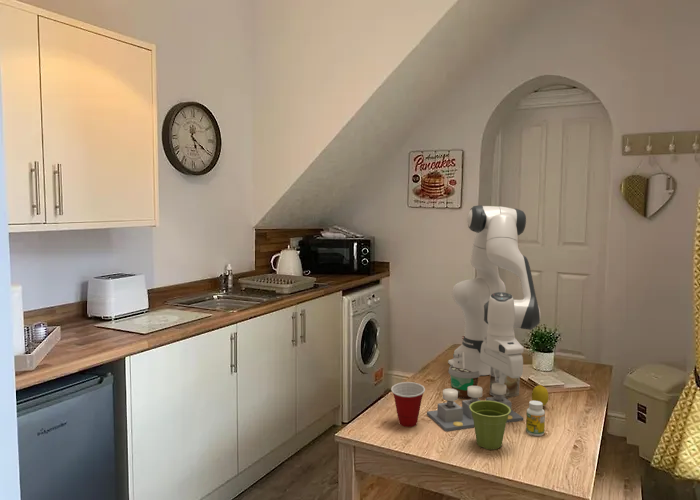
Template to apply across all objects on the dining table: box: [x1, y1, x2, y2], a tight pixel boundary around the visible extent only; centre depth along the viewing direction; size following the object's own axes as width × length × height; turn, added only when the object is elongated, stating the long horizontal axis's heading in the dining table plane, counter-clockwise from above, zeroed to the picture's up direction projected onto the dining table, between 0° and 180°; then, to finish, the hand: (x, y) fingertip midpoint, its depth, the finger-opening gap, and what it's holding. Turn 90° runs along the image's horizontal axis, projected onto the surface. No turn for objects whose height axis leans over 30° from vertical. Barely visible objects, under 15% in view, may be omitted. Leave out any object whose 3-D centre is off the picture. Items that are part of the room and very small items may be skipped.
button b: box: [467, 385, 483, 403], centre depth 182 cm, size 5×5×6 cm
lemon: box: [531, 384, 549, 406], centre depth 191 cm, size 6×6×8 cm
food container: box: [448, 364, 481, 400], centre depth 202 cm, size 12×6×10 cm, turn 45°
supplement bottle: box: [525, 400, 546, 437], centre depth 171 cm, size 5×5×10 cm
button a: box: [491, 383, 506, 402], centre depth 185 cm, size 5×5×6 cm
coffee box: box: [489, 367, 521, 399], centre depth 202 cm, size 9×6×16 cm
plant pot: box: [469, 399, 512, 450], centre depth 163 cm, size 12×12×11 cm
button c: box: [442, 387, 459, 408], centre depth 180 cm, size 5×5×6 cm
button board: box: [426, 396, 524, 432], centre depth 183 cm, size 14×28×5 cm, turn 107°
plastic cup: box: [390, 381, 426, 428], centre depth 177 cm, size 11×11×12 cm
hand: (499, 382), depth 184 cm, fingers closed
